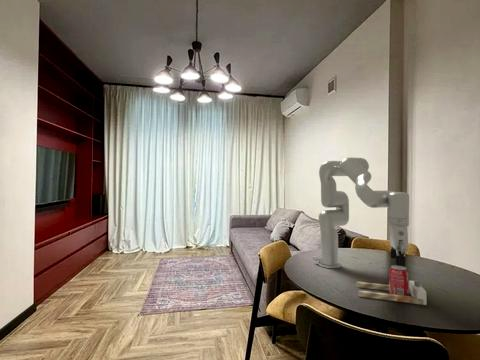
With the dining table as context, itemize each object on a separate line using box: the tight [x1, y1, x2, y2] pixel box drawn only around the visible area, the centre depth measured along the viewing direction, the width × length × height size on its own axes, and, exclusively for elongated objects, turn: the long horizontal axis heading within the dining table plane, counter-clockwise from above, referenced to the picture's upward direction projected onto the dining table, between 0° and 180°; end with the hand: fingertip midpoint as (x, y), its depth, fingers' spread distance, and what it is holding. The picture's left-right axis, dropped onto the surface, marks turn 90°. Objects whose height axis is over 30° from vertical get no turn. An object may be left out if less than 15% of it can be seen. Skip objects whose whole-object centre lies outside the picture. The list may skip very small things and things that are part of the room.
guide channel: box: [355, 281, 425, 306], centre depth 112 cm, size 23×12×2 cm, turn 71°
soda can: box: [388, 264, 410, 296], centre depth 111 cm, size 7×7×12 cm
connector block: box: [409, 279, 428, 306], centre depth 109 cm, size 3×12×7 cm, turn 161°
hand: (397, 261), depth 112 cm, fingers open, 9 cm apart
